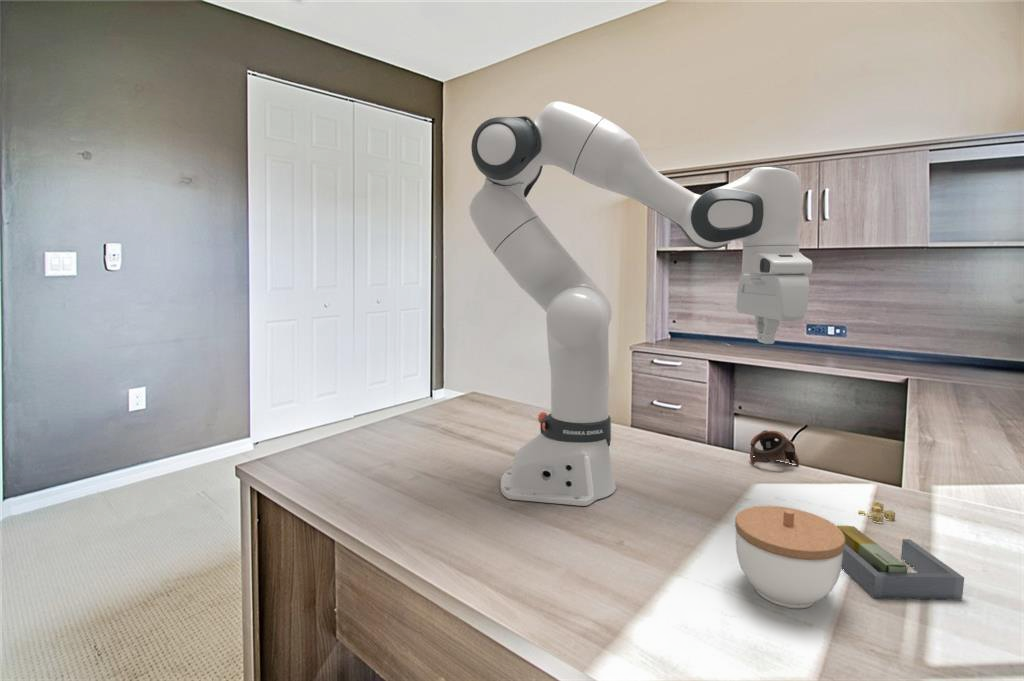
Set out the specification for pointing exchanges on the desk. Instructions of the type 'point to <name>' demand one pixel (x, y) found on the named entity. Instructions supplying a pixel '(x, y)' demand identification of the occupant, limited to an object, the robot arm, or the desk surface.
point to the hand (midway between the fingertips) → (765, 342)
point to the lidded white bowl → (788, 554)
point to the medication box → (871, 551)
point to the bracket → (906, 576)
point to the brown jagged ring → (772, 448)
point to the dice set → (879, 513)
